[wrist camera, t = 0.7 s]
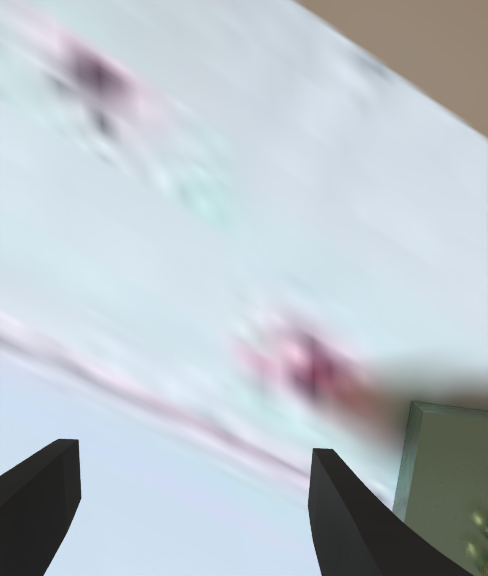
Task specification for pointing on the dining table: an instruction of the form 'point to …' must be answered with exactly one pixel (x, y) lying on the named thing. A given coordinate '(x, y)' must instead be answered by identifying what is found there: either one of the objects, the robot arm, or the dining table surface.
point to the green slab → (447, 482)
